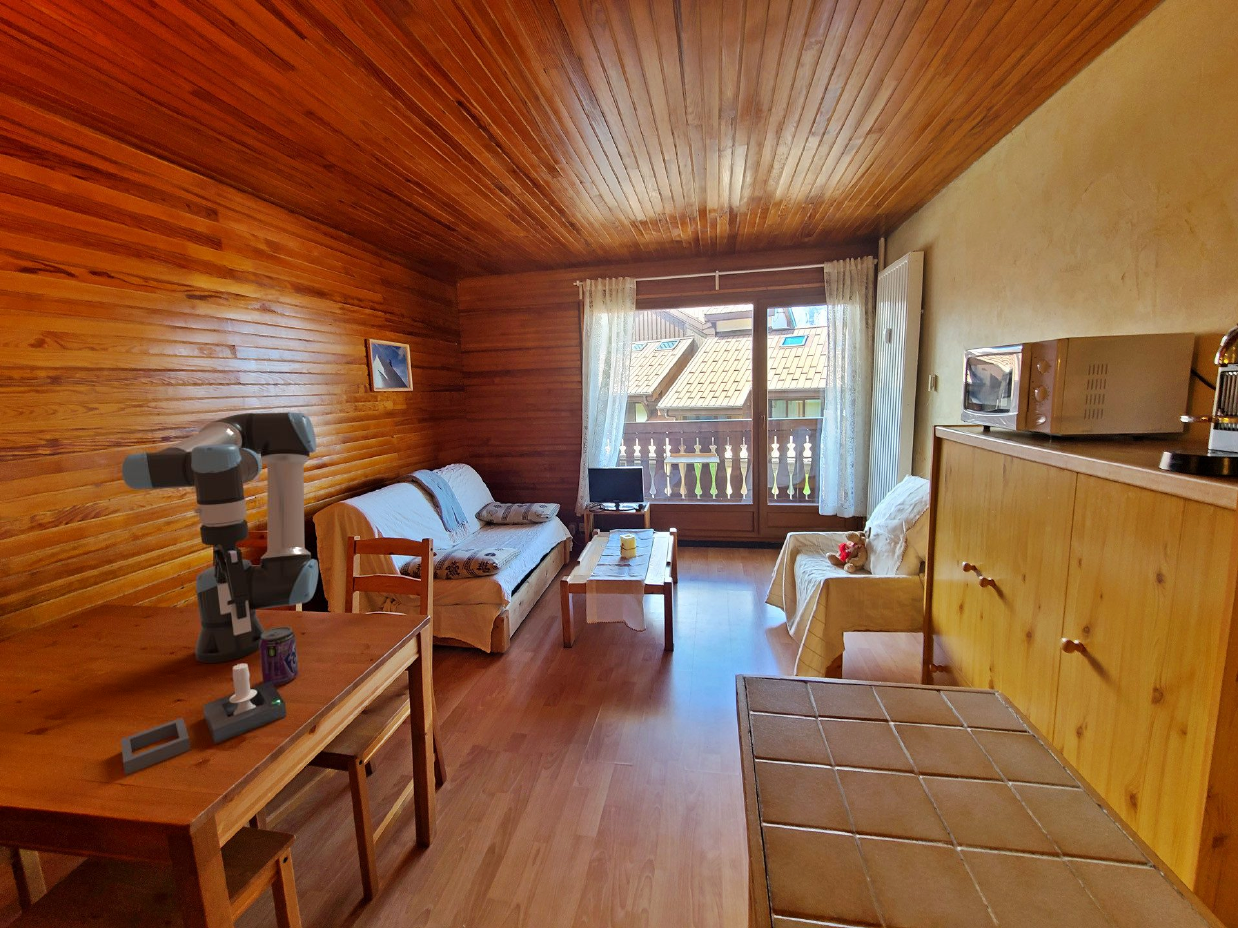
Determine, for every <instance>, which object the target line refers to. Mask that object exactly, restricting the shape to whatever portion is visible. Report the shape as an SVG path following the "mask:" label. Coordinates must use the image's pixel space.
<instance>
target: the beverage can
mask: <svg viewBox="0 0 1238 928" xmlns="http://www.w3.org/2000/svg"><path fill="white" fill-rule="evenodd" d="M259 648H260V649H259V655H260V656H259V657H260V666H261V675H262V684H264V683H267V682H269V681H271V682H272V684H273V685H274V686H280V685H283V684H287V683H288V682H290V681H292V680H293V679H294V678H297V676H298V675H299V673H300V672H299V663H298V654H297V653H298V651H297V641H296V634H295V633H294V632H293V628H292V627H291V626H278V627H273V628H271V629H268V630H265V632H264V633H262V634H261V640H260V642H259Z"/></svg>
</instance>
